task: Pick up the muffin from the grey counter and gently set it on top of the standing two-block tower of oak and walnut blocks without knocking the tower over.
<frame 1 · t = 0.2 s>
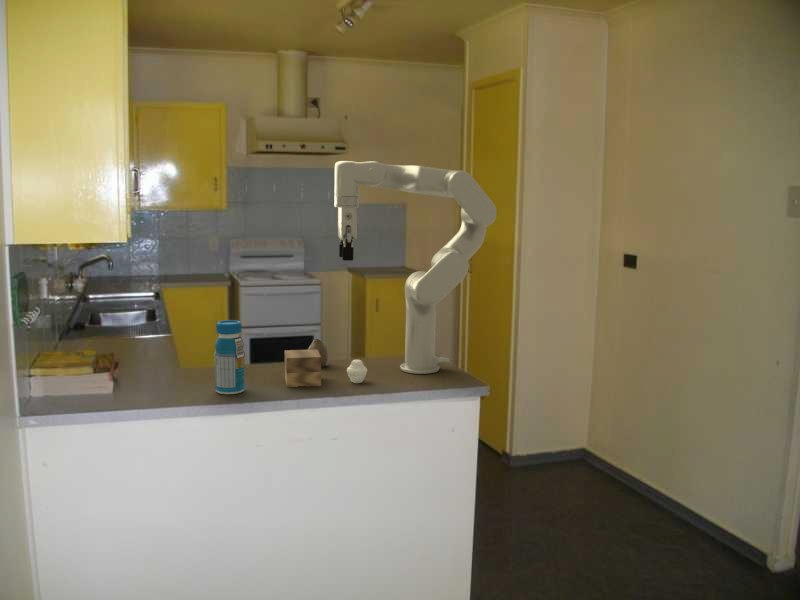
hand: (346, 258, 233), 36 cm above the table, tool pointing down, fingers open, 9 cm apart
tower top: (302, 368, 226), point 4 cm above the table, touching tower base
vase: (317, 366, 246), on the table
tower base: (302, 383, 227), on the table, touching tower top
beverage bottle: (230, 391, 216), on the table
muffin: (356, 382, 228), on the table
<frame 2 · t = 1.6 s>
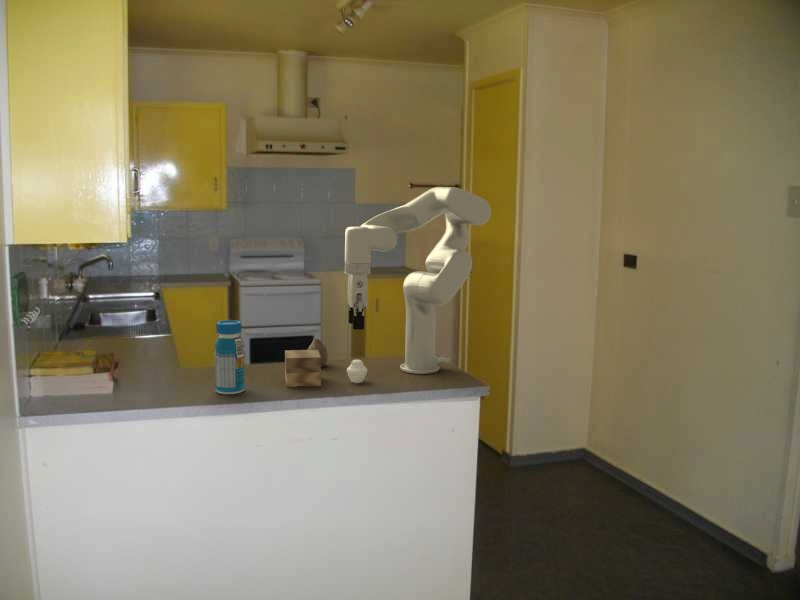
hand: (356, 326, 225), 17 cm above the table, tool pointing down, fingers open, 9 cm apart
nothing on the table moved.
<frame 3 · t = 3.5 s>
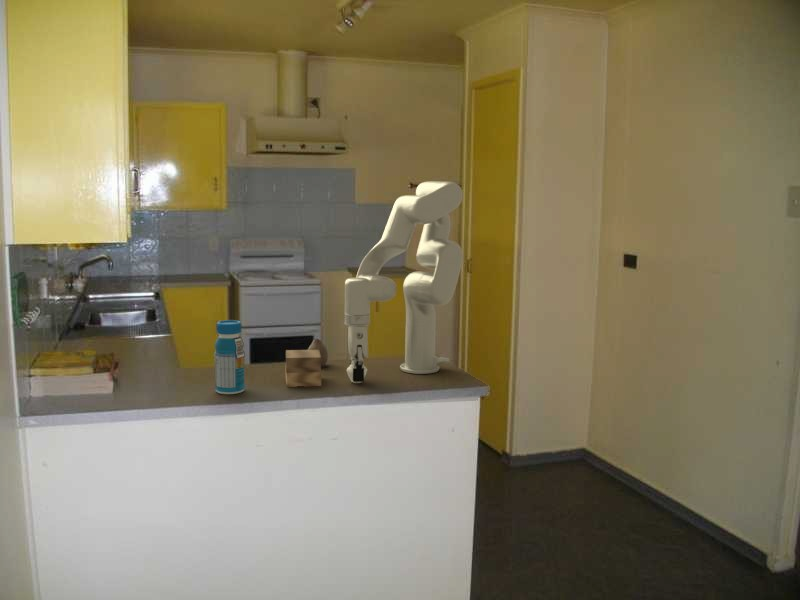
hand: (356, 377, 228), 1 cm above the table, tool pointing down, fingers closed on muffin, 6 cm apart
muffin: (356, 382, 228), on the table, touching gripper
everything else where it was.
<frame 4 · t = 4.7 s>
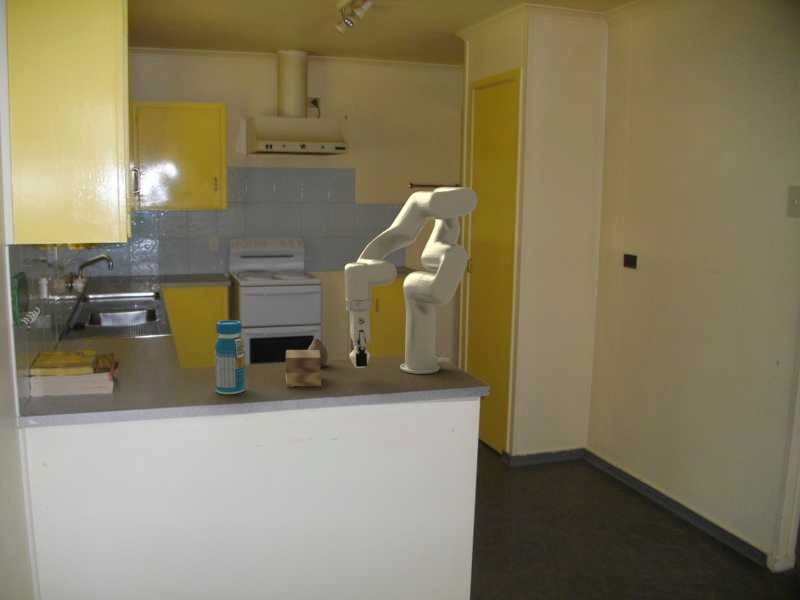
hand: (359, 362, 228), 6 cm above the table, tool pointing down, fingers closed on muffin, 6 cm apart
tower top: (302, 368, 226), point 4 cm above the table
tower base: (303, 382, 227), on the table
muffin: (360, 367, 228), point 4 cm above the table, touching gripper
everything else where it was.
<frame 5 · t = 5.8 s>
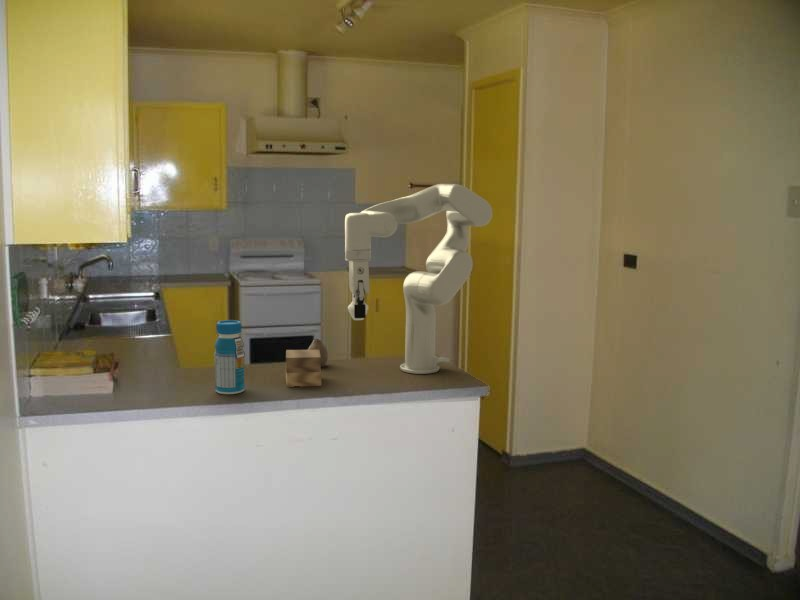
hand: (358, 315, 225), 20 cm above the table, tool pointing down, fingers closed on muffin, 6 cm apart
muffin: (358, 320, 225), point 19 cm above the table, touching gripper
everything else where it was.
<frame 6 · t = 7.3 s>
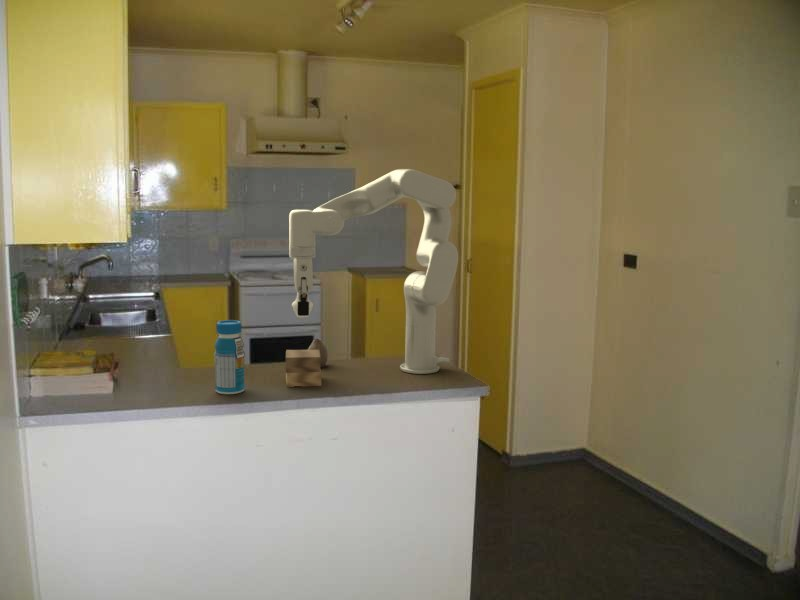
hand: (302, 312, 223), 21 cm above the table, tool pointing down, fingers closed on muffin, 6 cm apart
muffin: (302, 317, 223), point 20 cm above the table, touching gripper
everything else where it was.
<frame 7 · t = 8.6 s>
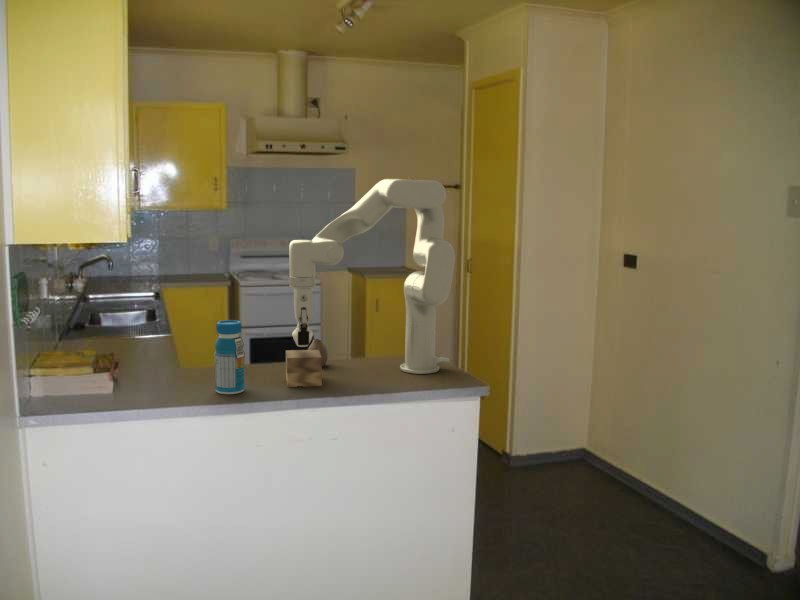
hand: (302, 341, 225), 12 cm above the table, tool pointing down, fingers closed on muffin, 6 cm apart
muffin: (302, 346, 225), point 11 cm above the table, touching gripper
everything else where it was.
when the fingers open (10 cm above the table, at t = 9.5 s): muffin stays where it is, resting on tower top.
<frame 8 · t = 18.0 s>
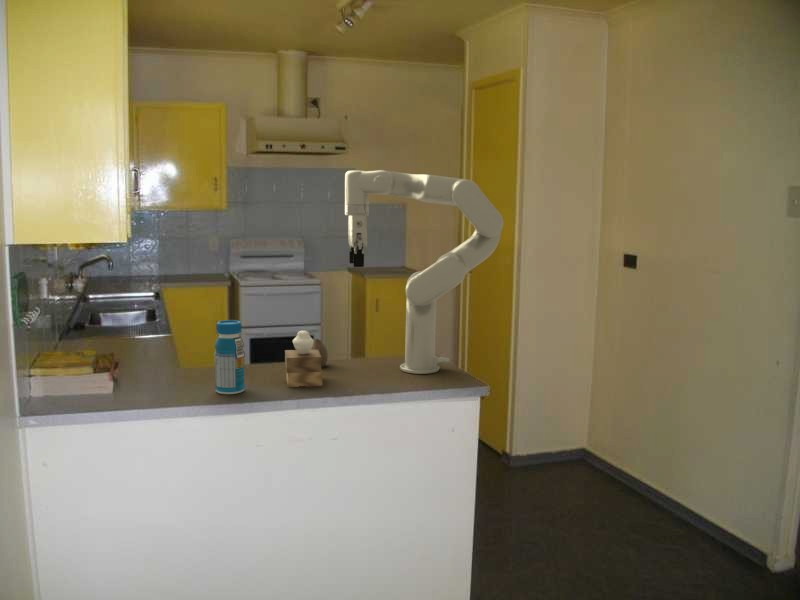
hand: (356, 265, 239), 33 cm above the table, tool pointing down, fingers open, 9 cm apart
tower top: (302, 368, 226), point 4 cm above the table, touching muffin, tower base
tower base: (303, 382, 227), on the table, touching tower top
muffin: (303, 353, 226), point 9 cm above the table, touching tower top
everything else where it was.
at the end: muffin touching tower top; tower top 0.3 cm off-centre on the tower base, point 4.5 cm above the tower base's base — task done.
